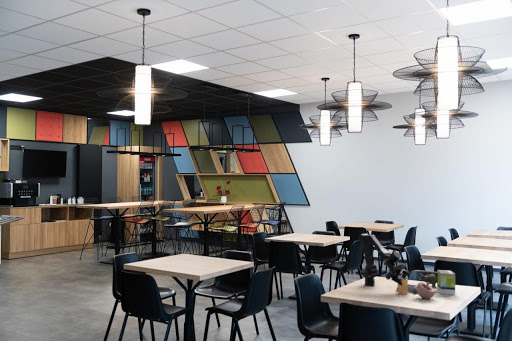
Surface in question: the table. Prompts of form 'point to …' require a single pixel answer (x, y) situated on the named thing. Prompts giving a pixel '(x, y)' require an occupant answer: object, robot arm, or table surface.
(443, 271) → the tea box
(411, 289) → the chassis
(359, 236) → the robot arm
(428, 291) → the mortar and pestle
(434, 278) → the dinosaur figurine
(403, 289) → the orange block gray top
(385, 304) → the table surface
